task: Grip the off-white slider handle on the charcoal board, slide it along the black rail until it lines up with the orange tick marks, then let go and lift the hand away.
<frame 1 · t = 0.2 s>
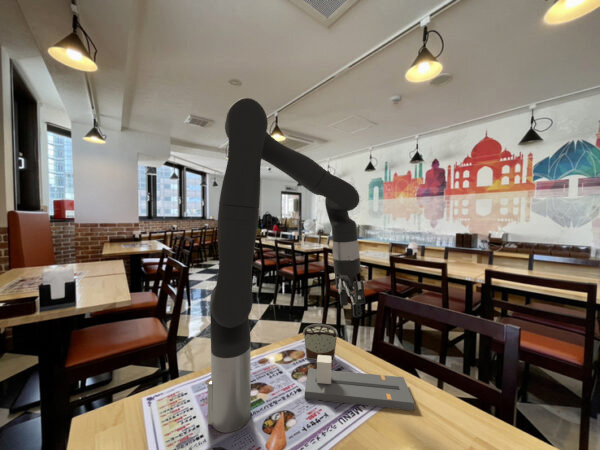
hand: (350, 310, 71), 22 cm above the table, tool pointing down, fingers open, 8 cm apart
slider handle: (324, 369, 69), point 5 cm above the table, slide at -9.0 cm
fader board: (356, 390, 68), on the table
food container: (320, 355, 86), on the table
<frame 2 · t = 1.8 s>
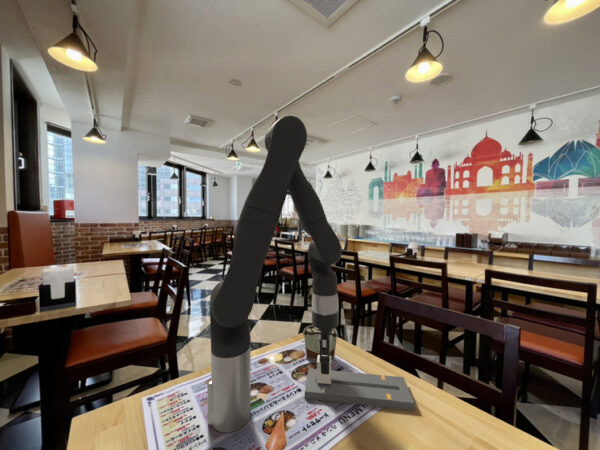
hand: (325, 363, 70), 7 cm above the table, tool pointing down, fingers open, 8 cm apart
nothing on the table moved.
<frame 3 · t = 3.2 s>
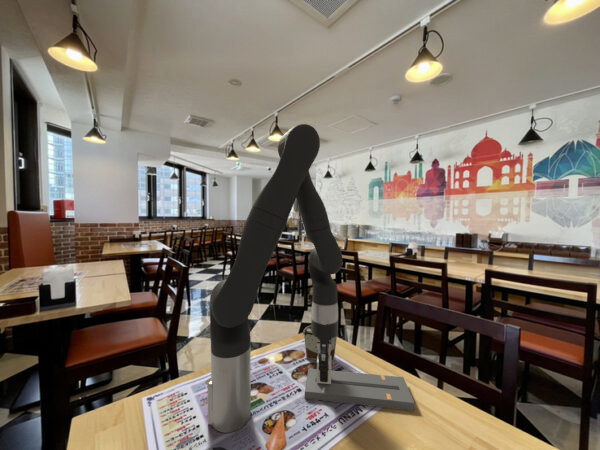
hand: (324, 376, 70), 3 cm above the table, tool pointing down, fingers closed on slider handle, 3 cm apart
slider handle: (324, 369, 69), point 5 cm above the table, slide at -9.0 cm, touching gripper
everything else where it was.
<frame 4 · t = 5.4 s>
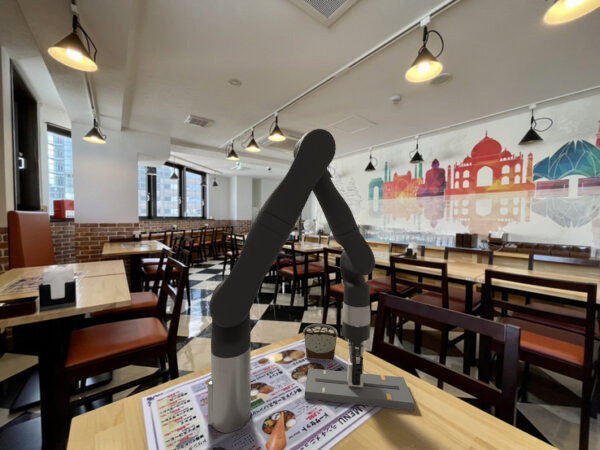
hand: (355, 379, 68), 3 cm above the table, tool pointing down, fingers closed on slider handle, 3 cm apart
slider handle: (355, 371, 68), point 5 cm above the table, slide at -0.3 cm, touching gripper
everything else where it was.
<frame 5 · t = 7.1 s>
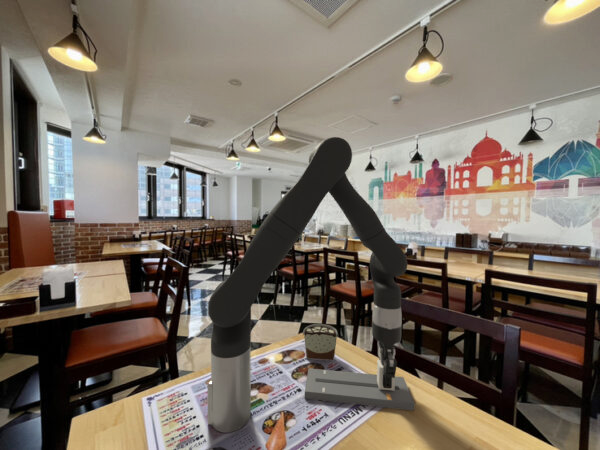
hand: (385, 381, 67), 3 cm above the table, tool pointing down, fingers closed on slider handle, 3 cm apart
slider handle: (385, 374, 67), point 5 cm above the table, slide at 7.9 cm, touching gripper
everything else where it was.
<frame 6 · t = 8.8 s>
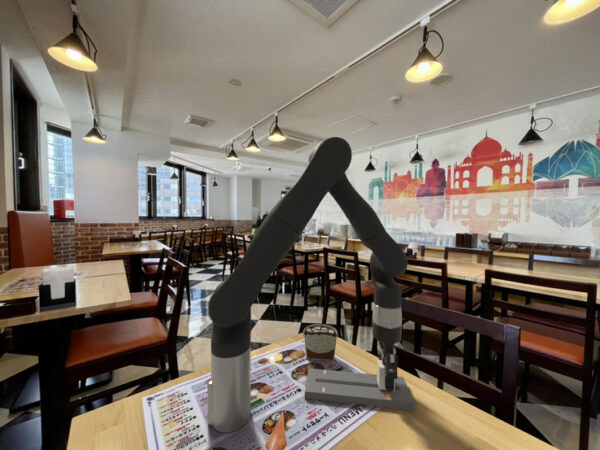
hand: (385, 378, 67), 4 cm above the table, tool pointing down, fingers open, 8 cm apart
slider handle: (385, 374, 67), point 5 cm above the table, slide at 7.9 cm
everything else where it was.
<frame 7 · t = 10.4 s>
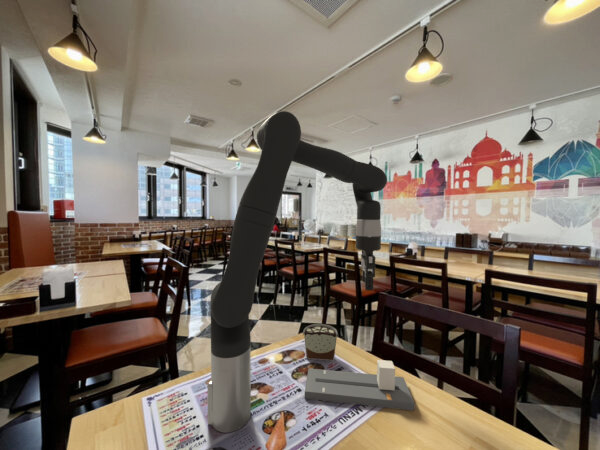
hand: (367, 286, 76), 27 cm above the table, tool pointing down, fingers open, 8 cm apart
nothing on the table moved.
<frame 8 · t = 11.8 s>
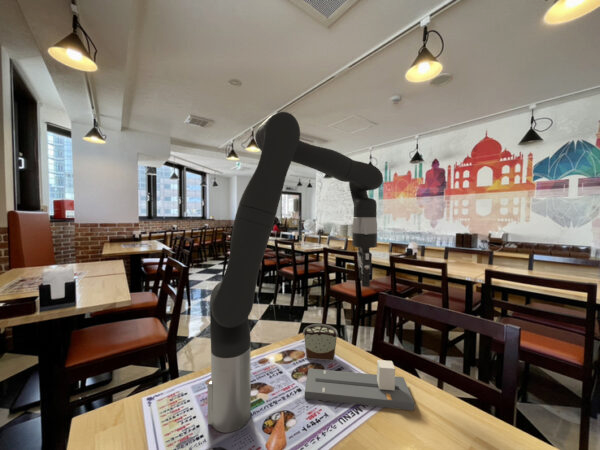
hand: (363, 282, 77), 28 cm above the table, tool pointing down, fingers open, 8 cm apart
nothing on the table moved.
at the end: slider handle slide at 7.9 cm; the gripper is holding nothing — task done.
